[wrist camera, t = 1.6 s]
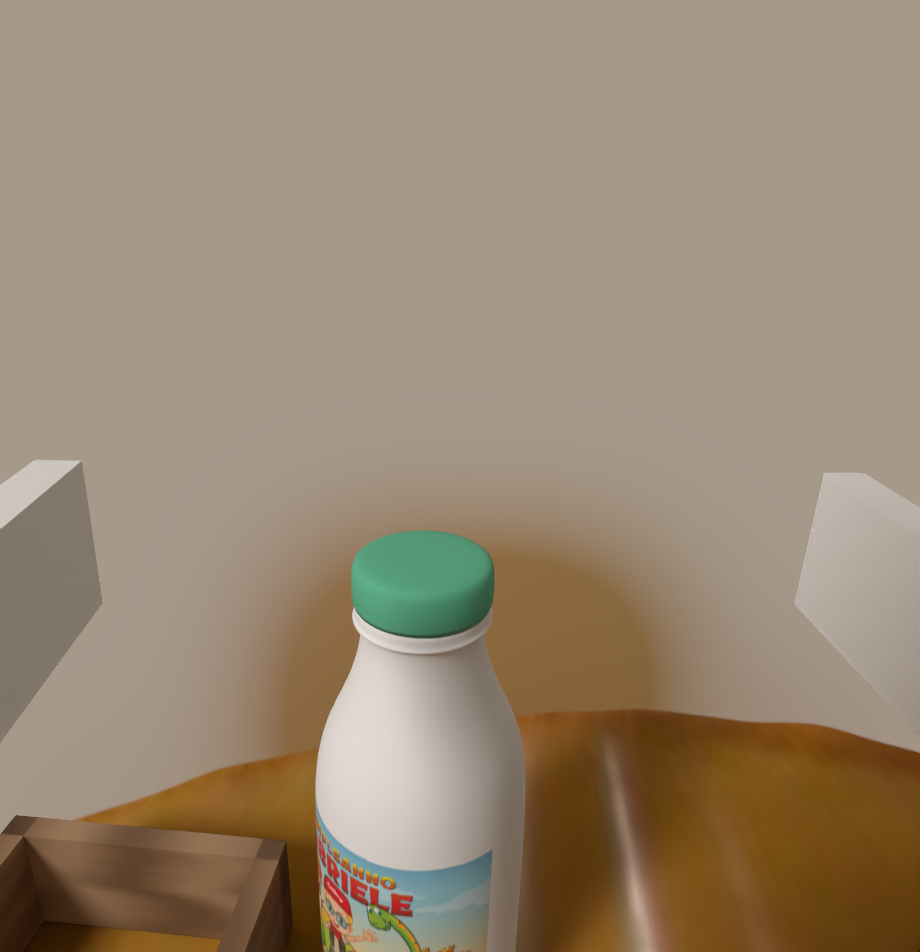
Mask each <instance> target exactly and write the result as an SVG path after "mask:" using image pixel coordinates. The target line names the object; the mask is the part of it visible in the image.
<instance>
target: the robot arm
mask: <svg viewBox="0 0 920 952" xmlns="http://www.w3.org/2000/svg"><path fill="white" fill-rule="evenodd" d="M101 604H102V597H101V590H100V583H99V576H98V569H97V563H96V555H95V549H94V542H93V535H92V528H91V522H90V514H89V508H88V500H87V494H86V486H85V480H84V473H83V466H82V461H64V460H34V461H33V462H31V463H30V464H29V465H27V466H26V467H25V468H23V469H22V470H21V471H19V472H18V473H16V474H15V475H14V476H12V477H11V478H10V479H8V480H7V481H5V482H4V483H3V484H1V485H0V742H1V741H2V739H3V738H4V737H5V735H6V734H7V733H8V731H9V730H10V729H11V727H12V726H13V724H14V723H15V722H16V720H17V719H18V718H19V716H20V715H21V713H22V712H23V711H24V710H25V708H26V707H27V705H28V704H29V703H30V701H31V700H32V699H33V697H34V696H35V694H36V693H37V692H38V690H39V689H40V688H41V686H42V685H43V684H44V682H45V681H46V679H47V678H48V677H49V675H50V674H51V673H52V671H53V670H54V668H55V667H56V666H57V664H58V663H59V662H60V660H61V659H62V657H63V656H64V655H65V653H66V652H67V651H68V649H69V648H70V646H71V645H72V644H73V643H74V641H75V640H76V638H77V637H78V636H79V634H80V633H81V632H82V630H83V629H84V627H85V626H86V625H87V623H88V622H89V621H90V619H91V618H92V616H93V615H94V613H95V612H96V611H97V610H98V608H99V607H100V606H101ZM794 604H795V606H796V607H797V608H798V609H799V610H800V611H801V612H802V613H803V614H804V615H805V616H806V617H807V618H808V619H809V620H810V622H811V623H812V624H813V625H814V626H815V627H816V628H817V629H818V630H819V631H820V632H821V633H822V634H823V635H824V636H825V638H826V639H827V640H828V641H829V642H830V643H831V644H832V645H833V646H834V647H835V648H836V649H837V650H838V651H839V652H840V654H841V655H842V656H843V657H844V658H845V659H846V660H847V661H848V662H849V663H850V664H851V665H852V666H853V667H854V668H855V669H856V671H857V672H858V673H859V674H860V675H861V676H862V677H863V678H864V679H865V680H866V681H867V682H868V683H869V684H870V685H871V687H872V688H873V689H874V690H875V691H876V692H877V693H878V694H879V695H880V696H881V697H882V698H883V699H884V700H885V702H886V703H887V704H888V705H889V706H890V707H891V708H892V709H893V710H894V711H895V712H896V713H897V714H898V715H899V716H900V718H901V719H902V720H903V721H904V722H905V723H906V724H907V725H908V726H909V727H910V728H911V729H912V730H913V731H914V732H915V734H916V735H918V737H919V738H920V508H919V507H918V506H916V505H915V504H913V503H911V502H910V501H908V500H906V499H905V498H903V497H902V496H900V495H898V494H897V493H895V492H894V491H892V490H890V489H889V488H887V487H885V486H884V485H882V484H881V483H879V482H877V481H876V480H874V479H872V478H871V477H869V476H868V475H866V474H864V473H824V476H823V480H822V484H821V489H820V493H819V498H818V502H817V507H816V511H815V515H814V519H813V524H812V528H811V532H810V537H809V542H808V546H807V550H806V554H805V559H804V563H803V568H802V572H801V576H800V581H799V585H798V590H797V594H796V598H795V603H794ZM918 952H920V950H919V951H918Z"/></svg>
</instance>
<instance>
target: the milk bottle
mask: <svg viewBox="0 0 920 952" xmlns="http://www.w3.org/2000/svg"><path fill="white" fill-rule="evenodd" d="M351 590H352V601H353V605H354V609H353V614H352V619H353V623H354V625H355V627H356V629H357V631H358V632H359V633H360V642H359V646H358V651H357V654H356V657H355V660H354V663H353V666H352V669H351V671H350V674H349V676H348V678H347V680H346V682H345V684H344V686H343V688H342V690H341V692H340V694H339V696H338V698H337V699H336V701H335V704H334V706H333V708H332V710H331V712H330V715H329V717H328V720H327V723H326V726H325V729H324V732H323V735H322V739H321V744H320V748H319V754H318V761H317V771H316V835H317V857H318V878H319V897H320V914H321V931H322V948H323V952H516V939H517V926H518V912H519V899H520V885H521V870H522V854H523V838H524V822H525V789H526V775H525V762H524V752H523V747H522V742H521V737H520V732H519V729H518V725H517V722H516V719H515V716H514V713H513V711H512V709H511V707H510V704H509V702H508V700H507V698H506V696H505V694H504V692H503V690H502V688H501V686H500V684H499V682H498V680H497V678H496V675H495V673H494V671H493V668H492V665H491V662H490V659H489V655H488V652H487V647H486V643H485V633H486V631H487V630H488V629H489V627H490V625H491V622H492V619H493V613H492V609H491V605H492V603H493V596H494V566H493V563H492V559H491V556H490V555H489V553H488V552H487V551H486V550H485V549H484V548H482V547H481V546H480V545H478V544H477V543H475V542H473V541H471V540H469V539H467V538H465V537H461V536H458V535H455V534H451V533H446V532H439V531H407V532H401V533H395V534H391V535H387V536H384V537H381V538H379V539H376V540H374V541H373V542H371V543H369V544H368V545H366V546H365V547H363V548H362V549H361V550H360V551H359V552H358V553H357V555H356V556H355V559H354V562H353V565H352V571H351Z"/></svg>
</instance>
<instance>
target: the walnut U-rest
mask: <svg viewBox="0 0 920 952" xmlns="http://www.w3.org/2000/svg"><path fill="white" fill-rule="evenodd" d="M44 921H53V922H62V923H72V924H81V925H91V926H100V927H110V928H119V929H129V930H138V931H148V932H157V933H167V934H176V935H186V936H195V937H205V938H214V939H222V940H221V942H220V945H219V947H218V950H217V952H284V951H285V947H286V944H287V941H288V938H289V935H290V932H291V929H292V926H293V922H292V909H291V896H290V883H289V871H288V858H287V845H286V841H282V840H271V839H261V838H250V837H240V836H229V835H219V834H208V833H197V832H187V831H176V830H166V829H155V828H145V827H134V826H123V825H113V824H102V823H92V822H81V821H71V820H59V819H49V818H38V817H28V816H18V815H16V816H15V817H14V818H13V820H12V821H11V822H10V823H9V825H8V826H7V827H6V828H5V829H4V831H3V832H2V833H1V834H0V952H24V951H25V949H26V948H27V946H28V945H29V943H30V942H31V940H32V939H33V937H34V936H35V934H36V933H37V931H38V930H39V928H40V927H41V925H42V924H43V922H44Z"/></svg>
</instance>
